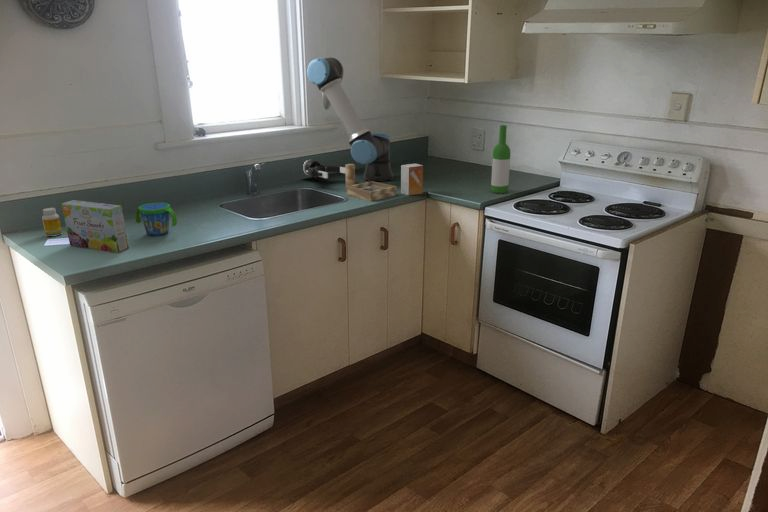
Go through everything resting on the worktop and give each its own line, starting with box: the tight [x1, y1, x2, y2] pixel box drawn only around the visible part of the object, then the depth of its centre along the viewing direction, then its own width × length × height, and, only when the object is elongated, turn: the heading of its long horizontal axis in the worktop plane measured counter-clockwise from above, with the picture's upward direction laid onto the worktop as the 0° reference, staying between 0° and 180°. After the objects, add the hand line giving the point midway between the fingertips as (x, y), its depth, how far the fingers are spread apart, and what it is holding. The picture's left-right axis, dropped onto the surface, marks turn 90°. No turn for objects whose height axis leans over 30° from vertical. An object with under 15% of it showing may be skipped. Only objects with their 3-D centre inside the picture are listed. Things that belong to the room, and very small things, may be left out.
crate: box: [345, 181, 397, 202], centre depth 266 cm, size 16×16×4 cm
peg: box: [344, 163, 356, 187], centre depth 274 cm, size 4×4×12 cm
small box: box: [400, 163, 424, 196], centre depth 267 cm, size 8×6×13 cm
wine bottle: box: [490, 124, 511, 194], centre depth 266 cm, size 8×8×30 cm
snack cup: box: [134, 202, 178, 236], centre depth 211 cm, size 16×10×10 cm
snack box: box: [61, 199, 130, 254], centre depth 195 cm, size 21×6×15 cm, turn 69°
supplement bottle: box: [41, 207, 63, 237], centre depth 210 cm, size 5×5×10 cm
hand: (338, 173), depth 278 cm, fingers open, 13 cm apart
